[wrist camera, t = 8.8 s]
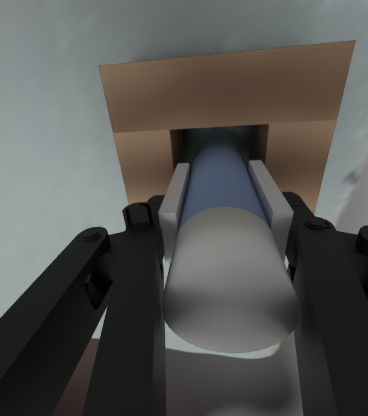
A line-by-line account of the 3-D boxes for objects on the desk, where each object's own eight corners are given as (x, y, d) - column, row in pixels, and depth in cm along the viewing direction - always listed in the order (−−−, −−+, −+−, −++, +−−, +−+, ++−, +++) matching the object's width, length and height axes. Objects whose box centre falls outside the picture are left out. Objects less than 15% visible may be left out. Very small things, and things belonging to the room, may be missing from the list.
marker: (195, 130, 22) (152, 262, 6) (237, 128, 21) (314, 265, 5) (196, 170, 23) (168, 348, 8) (236, 169, 23) (288, 357, 7)
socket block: (132, 69, 20) (98, 65, 14) (307, 53, 18) (355, 40, 12) (155, 211, 27) (138, 250, 21) (282, 210, 25) (304, 251, 19)
